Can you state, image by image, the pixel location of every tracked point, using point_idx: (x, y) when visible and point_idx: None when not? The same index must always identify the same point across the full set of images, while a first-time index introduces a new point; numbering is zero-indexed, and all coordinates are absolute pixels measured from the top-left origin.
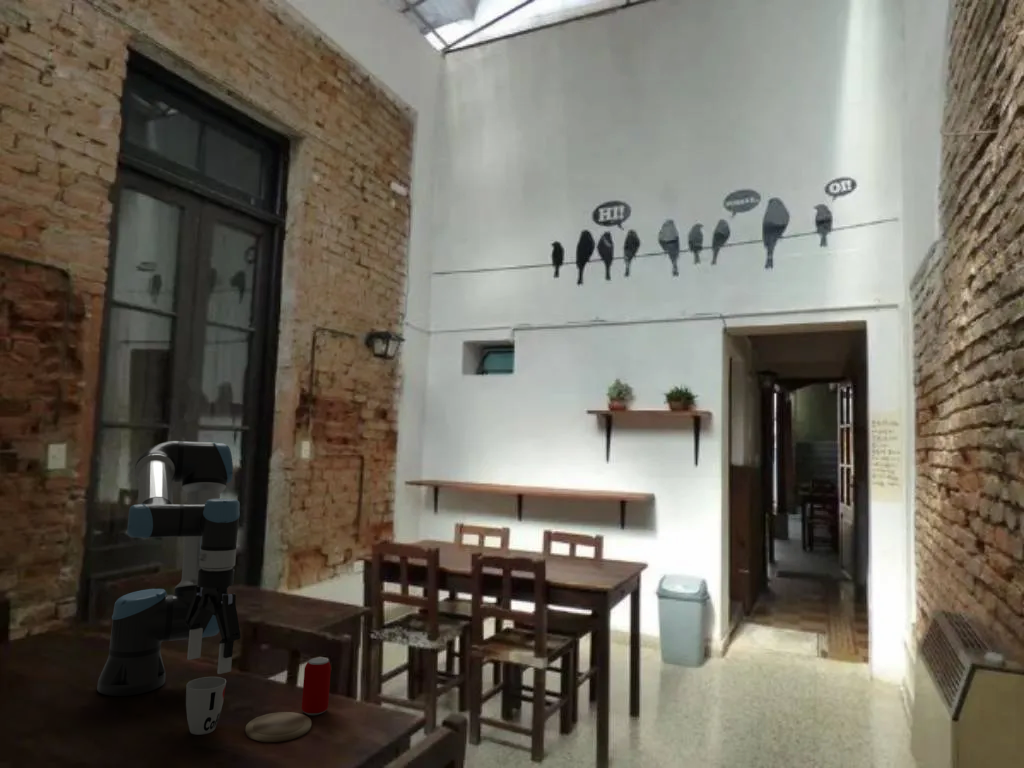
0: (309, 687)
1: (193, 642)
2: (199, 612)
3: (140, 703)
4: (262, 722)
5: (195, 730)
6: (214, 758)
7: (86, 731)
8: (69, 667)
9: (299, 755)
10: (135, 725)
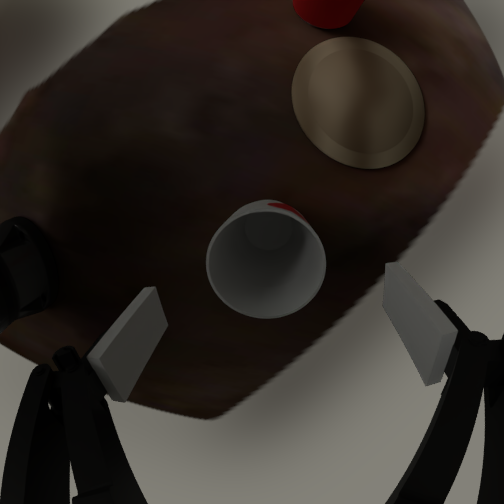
0: (355, 2)
1: (140, 353)
2: (142, 496)
3: (88, 276)
4: (334, 120)
5: (285, 251)
6: (399, 254)
7: (168, 362)
8: None
9: (471, 143)
10: (177, 312)
